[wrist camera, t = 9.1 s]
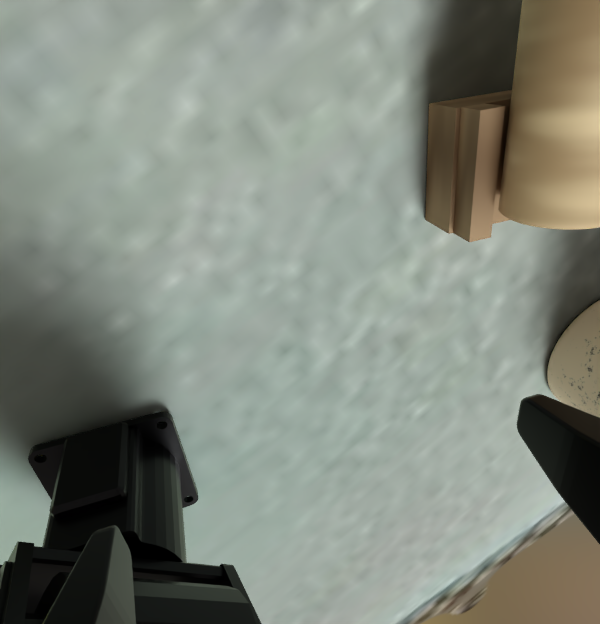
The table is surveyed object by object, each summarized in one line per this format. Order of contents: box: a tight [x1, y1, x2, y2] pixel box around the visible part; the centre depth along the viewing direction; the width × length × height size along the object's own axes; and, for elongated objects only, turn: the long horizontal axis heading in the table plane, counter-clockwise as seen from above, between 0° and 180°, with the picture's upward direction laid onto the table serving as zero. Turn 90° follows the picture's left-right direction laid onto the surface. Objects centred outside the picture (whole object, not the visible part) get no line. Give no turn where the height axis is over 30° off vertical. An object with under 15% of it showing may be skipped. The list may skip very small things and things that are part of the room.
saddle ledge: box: [425, 90, 512, 242], centre depth 20 cm, size 5×8×3 cm, turn 97°
